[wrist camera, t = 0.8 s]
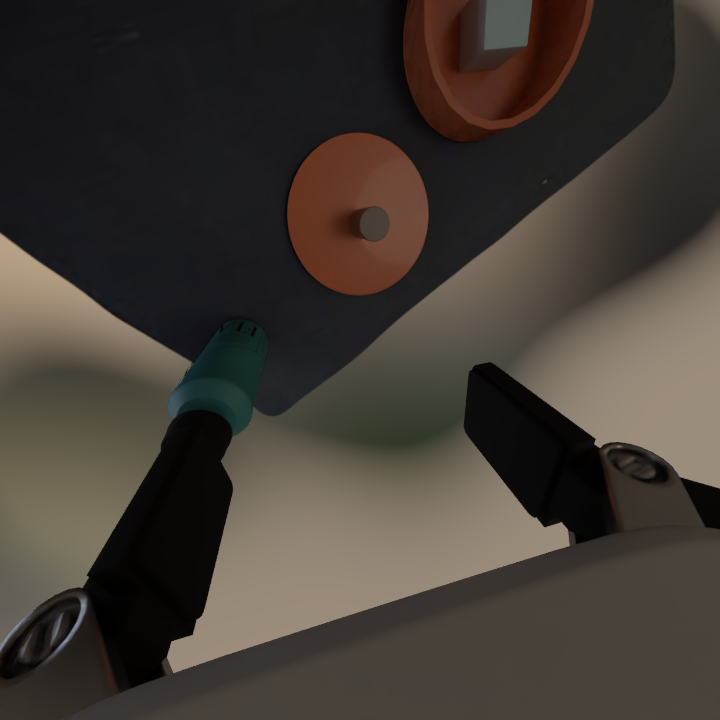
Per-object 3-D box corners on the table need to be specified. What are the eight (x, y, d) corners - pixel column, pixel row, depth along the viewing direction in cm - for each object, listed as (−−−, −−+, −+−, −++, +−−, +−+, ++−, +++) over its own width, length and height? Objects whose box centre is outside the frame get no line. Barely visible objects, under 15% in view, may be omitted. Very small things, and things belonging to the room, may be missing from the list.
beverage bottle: (269, 313, 34) (238, 409, 17) (273, 359, 37) (250, 481, 20) (213, 313, 33) (117, 416, 15) (222, 361, 36) (149, 493, 18)
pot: (397, -83, 22) (421, -159, 18) (563, -89, 24) (624, -160, 19) (407, 150, 29) (426, 138, 25) (533, 133, 31) (572, 119, 27)
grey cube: (460, 10, 25) (488, -26, 21) (501, 7, 25) (535, -29, 22) (458, 73, 27) (483, 49, 23) (496, 69, 27) (527, 45, 24)
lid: (268, 146, 27) (259, 122, 20) (423, 126, 29) (458, 99, 22) (306, 304, 35) (308, 322, 28) (426, 281, 36) (453, 293, 30)
